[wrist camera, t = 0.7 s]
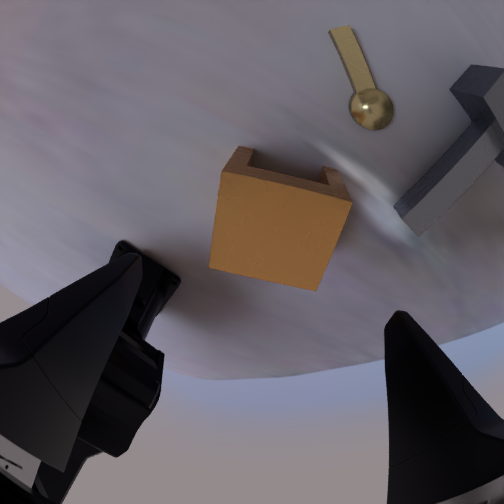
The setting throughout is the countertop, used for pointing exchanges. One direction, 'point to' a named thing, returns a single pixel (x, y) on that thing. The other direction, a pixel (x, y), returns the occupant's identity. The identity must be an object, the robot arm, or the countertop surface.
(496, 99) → the hammer
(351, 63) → the brass measuring spoon
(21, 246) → the countertop surface
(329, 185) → the wooden u-channel block
